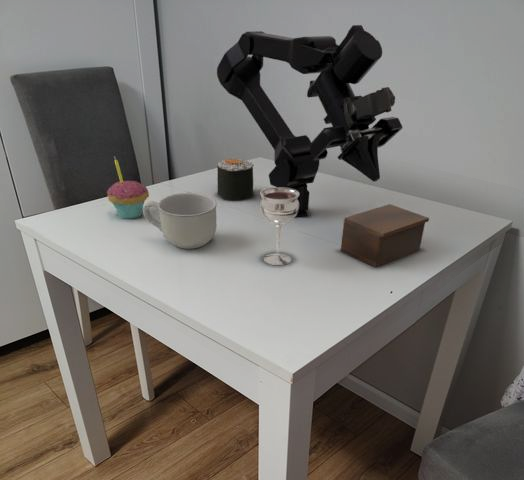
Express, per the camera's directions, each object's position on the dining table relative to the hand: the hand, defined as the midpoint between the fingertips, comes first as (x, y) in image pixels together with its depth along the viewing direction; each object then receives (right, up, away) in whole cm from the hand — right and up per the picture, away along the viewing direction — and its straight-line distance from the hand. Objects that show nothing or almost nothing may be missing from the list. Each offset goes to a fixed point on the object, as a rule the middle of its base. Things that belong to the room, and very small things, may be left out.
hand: (376, 180), depth 87 cm
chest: (+2, -12, +5) cm, 13 cm away
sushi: (-27, +7, +31) cm, 42 cm away
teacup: (-36, -9, +8) cm, 38 cm away
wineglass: (-18, -14, +2) cm, 23 cm away
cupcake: (-49, -1, +19) cm, 53 cm away
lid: (+2, -7, +2) cm, 7 cm away
